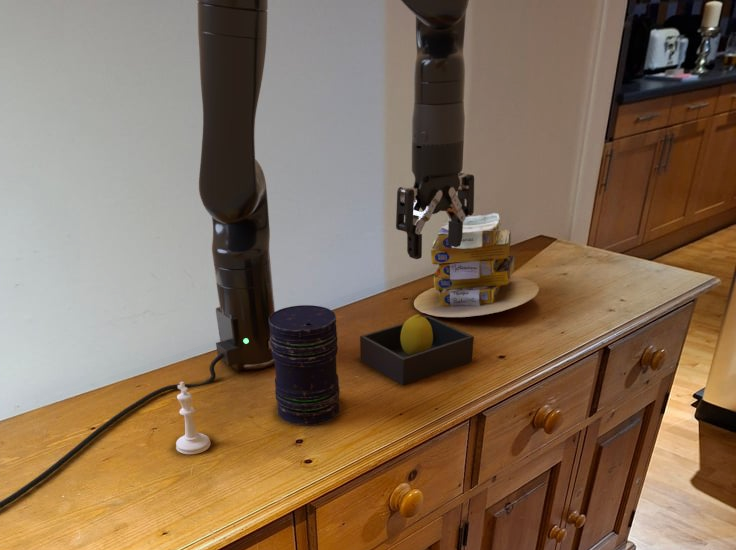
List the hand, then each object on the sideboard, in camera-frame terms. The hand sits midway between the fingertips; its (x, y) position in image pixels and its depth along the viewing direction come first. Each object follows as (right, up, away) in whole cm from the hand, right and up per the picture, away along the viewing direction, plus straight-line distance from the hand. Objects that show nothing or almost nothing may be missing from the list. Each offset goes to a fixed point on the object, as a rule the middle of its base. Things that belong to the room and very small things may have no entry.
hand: (434, 251), depth 112 cm
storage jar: (-20, -26, -2) cm, 32 cm away
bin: (-2, -15, +11) cm, 19 cm away
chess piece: (-36, -32, -10) cm, 49 cm away
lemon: (-2, -15, +11) cm, 19 cm away
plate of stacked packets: (+12, +1, +33) cm, 35 cm away
